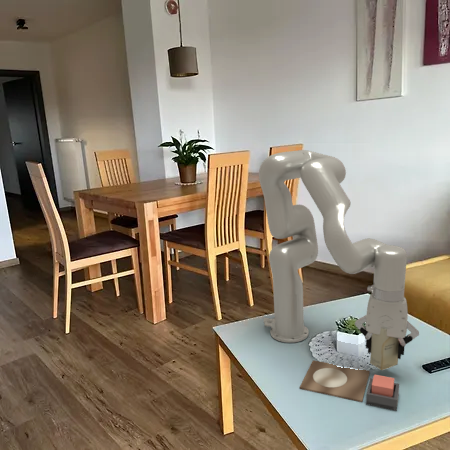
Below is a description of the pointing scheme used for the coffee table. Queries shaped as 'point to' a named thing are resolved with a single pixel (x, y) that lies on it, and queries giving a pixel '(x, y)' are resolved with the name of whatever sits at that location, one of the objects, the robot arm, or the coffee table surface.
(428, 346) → the coffee table surface
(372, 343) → the skincare box
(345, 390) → the board
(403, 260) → the robot arm
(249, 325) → the coffee table surface
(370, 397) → the button housing
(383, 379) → the button
